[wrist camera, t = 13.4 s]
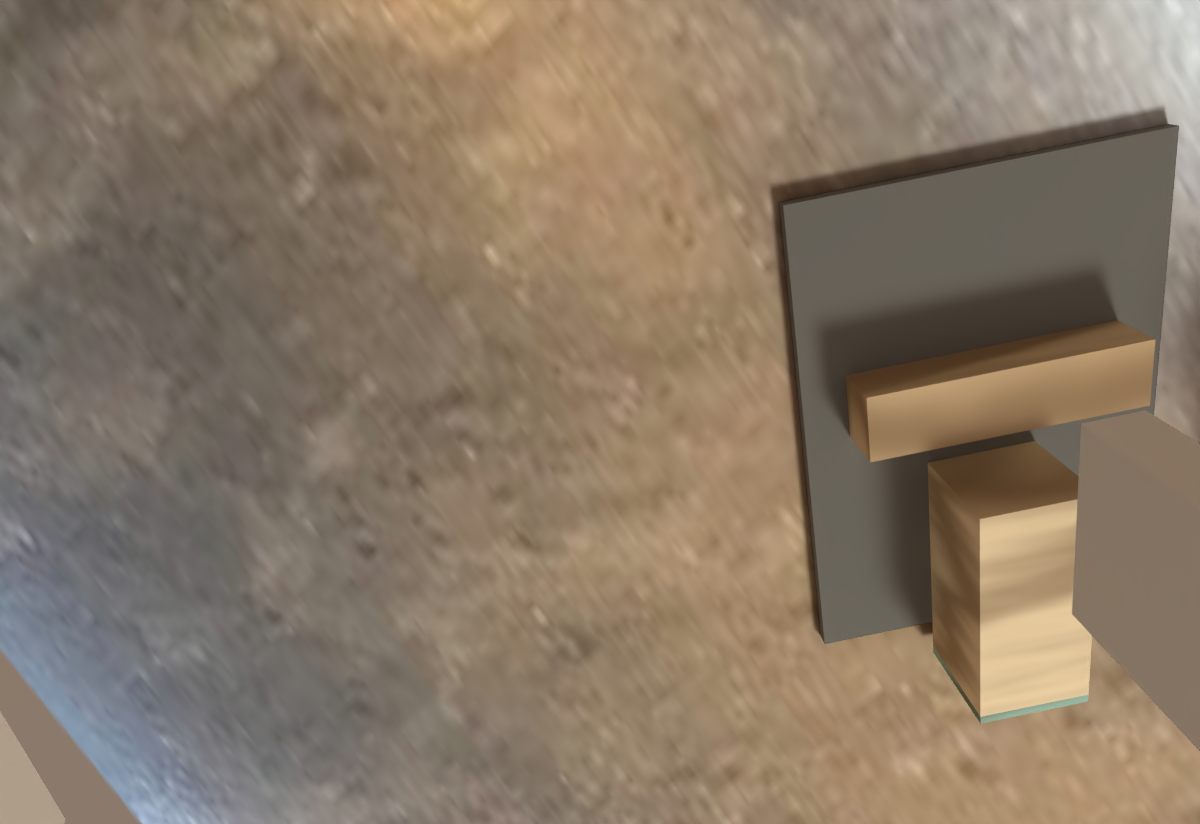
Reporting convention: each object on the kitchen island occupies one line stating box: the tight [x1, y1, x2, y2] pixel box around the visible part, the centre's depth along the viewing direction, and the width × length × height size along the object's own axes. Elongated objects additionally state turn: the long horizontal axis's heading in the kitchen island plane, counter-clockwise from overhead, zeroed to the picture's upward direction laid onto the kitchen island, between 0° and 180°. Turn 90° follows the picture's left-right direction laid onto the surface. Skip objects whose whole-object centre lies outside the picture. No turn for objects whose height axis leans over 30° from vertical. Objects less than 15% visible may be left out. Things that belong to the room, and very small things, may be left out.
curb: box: [846, 320, 1155, 462], centre depth 38 cm, size 3×12×2 cm, turn 100°
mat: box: [779, 124, 1179, 644], centre depth 40 cm, size 22×16×1 cm
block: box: [928, 441, 1092, 723], centre depth 41 cm, size 5×5×11 cm
